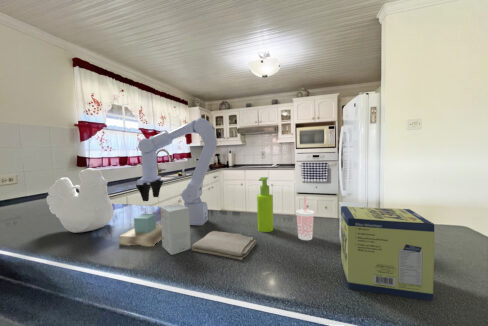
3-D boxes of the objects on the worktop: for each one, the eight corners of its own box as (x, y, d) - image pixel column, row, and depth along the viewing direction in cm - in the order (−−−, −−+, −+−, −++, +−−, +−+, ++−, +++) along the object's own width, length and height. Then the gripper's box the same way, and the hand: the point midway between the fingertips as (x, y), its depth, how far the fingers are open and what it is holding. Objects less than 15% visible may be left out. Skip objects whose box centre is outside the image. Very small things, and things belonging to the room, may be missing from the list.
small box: (191, 249, 66) (189, 207, 66) (171, 255, 62) (169, 211, 62) (180, 241, 73) (179, 203, 72) (161, 246, 69) (159, 206, 68)
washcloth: (244, 262, 59) (244, 251, 58) (189, 252, 65) (189, 242, 65) (257, 244, 70) (257, 235, 69) (209, 237, 76) (209, 229, 76)
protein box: (339, 264, 56) (339, 205, 55) (410, 272, 51) (411, 208, 50) (346, 289, 46) (346, 217, 45) (435, 302, 41) (437, 223, 40)
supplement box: (363, 240, 69) (364, 202, 69) (368, 251, 62) (369, 208, 62) (338, 238, 72) (338, 201, 71) (341, 248, 65) (341, 206, 64)
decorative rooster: (123, 224, 92) (120, 166, 91) (88, 238, 77) (84, 169, 75) (79, 220, 98) (75, 166, 97) (38, 233, 83) (33, 169, 82)
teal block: (156, 227, 78) (155, 214, 77) (148, 232, 73) (147, 218, 72) (143, 227, 78) (142, 213, 78) (134, 232, 73) (133, 218, 73)
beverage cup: (317, 237, 73) (317, 196, 73) (309, 242, 69) (309, 199, 68) (301, 232, 77) (301, 194, 77) (292, 237, 73) (292, 197, 72)
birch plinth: (171, 232, 81) (170, 224, 80) (152, 246, 69) (152, 237, 69) (142, 231, 82) (141, 223, 82) (119, 245, 71) (118, 236, 70)
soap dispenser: (254, 232, 79) (253, 178, 78) (260, 225, 86) (259, 176, 84) (270, 234, 77) (269, 178, 76) (274, 227, 83) (274, 176, 82)
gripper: (150, 166, 99) (152, 195, 100) (129, 169, 85) (131, 202, 86) (164, 166, 98) (166, 195, 99) (145, 168, 84) (147, 203, 84)
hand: (151, 199), depth 92 cm, fingers open, 7 cm apart
